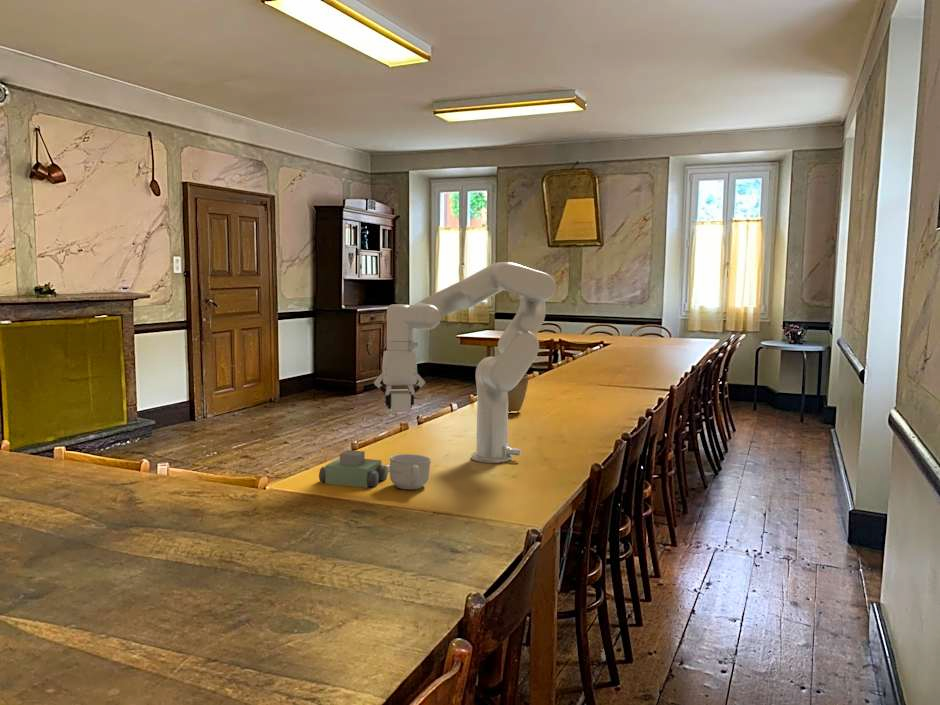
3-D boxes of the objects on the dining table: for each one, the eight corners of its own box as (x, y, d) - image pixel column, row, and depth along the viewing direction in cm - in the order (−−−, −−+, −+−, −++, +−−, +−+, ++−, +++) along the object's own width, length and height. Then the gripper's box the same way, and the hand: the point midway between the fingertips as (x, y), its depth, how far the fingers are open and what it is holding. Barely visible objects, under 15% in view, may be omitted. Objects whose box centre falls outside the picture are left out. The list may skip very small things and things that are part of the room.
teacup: (390, 481, 196) (390, 452, 196) (430, 481, 197) (430, 452, 196) (388, 496, 183) (388, 465, 182) (431, 496, 183) (431, 465, 183)
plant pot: (486, 410, 306) (487, 373, 305) (517, 408, 313) (518, 371, 311) (502, 416, 293) (503, 377, 291) (534, 414, 299) (535, 376, 298)
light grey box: (407, 407, 216) (407, 389, 215) (410, 411, 209) (410, 392, 208) (389, 407, 214) (389, 389, 214) (391, 412, 208) (391, 393, 207)
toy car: (398, 470, 207) (398, 443, 207) (373, 488, 189) (373, 458, 188) (348, 466, 211) (348, 439, 211) (319, 483, 193) (318, 454, 192)
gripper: (426, 345, 216) (426, 405, 218) (369, 345, 212) (369, 406, 214) (430, 347, 208) (430, 409, 210) (371, 348, 205) (371, 410, 207)
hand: (399, 407), depth 212 cm, fingers closed on light grey box, 5 cm apart
